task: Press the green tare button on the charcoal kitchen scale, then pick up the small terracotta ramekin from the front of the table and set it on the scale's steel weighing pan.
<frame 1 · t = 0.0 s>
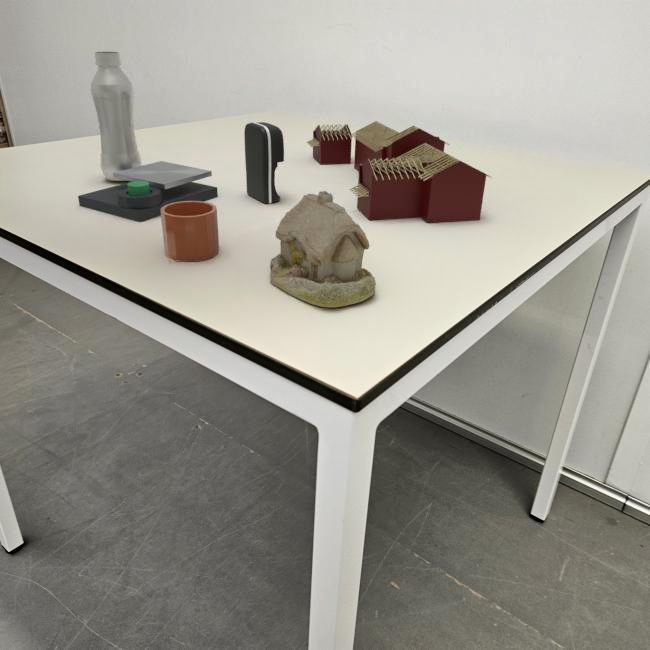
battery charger: (266, 199, 96), on the table
tare button: (139, 188, 85), point 4 cm above the table, slide at 0.1 cm
scale pan: (165, 197, 95), resting on scale
plastic bottle: (123, 181, 103), on the table
ceramic model: (324, 282, 67), on the table
scale: (150, 201, 92), on the table
ramekin: (192, 252, 74), on the table
toy houses: (380, 183, 106), on the table
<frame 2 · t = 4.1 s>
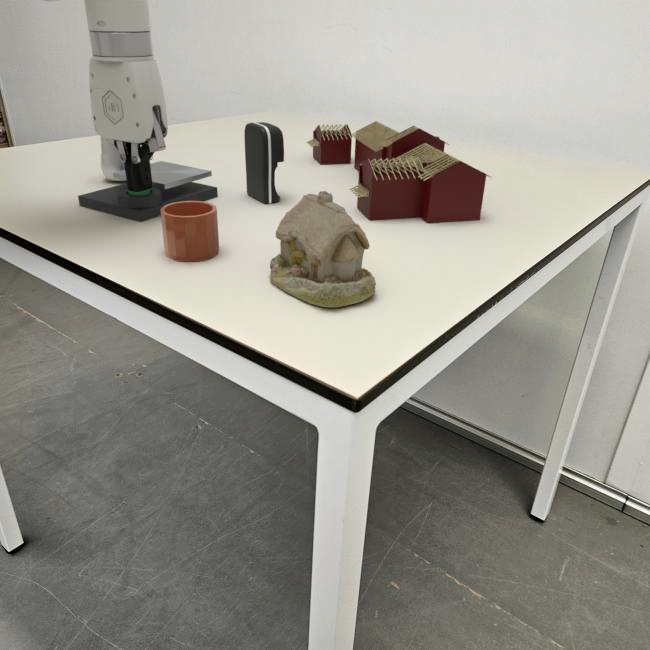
hand: (140, 188, 85), 4 cm above the table, tool pointing down, fingers closed
tare button: (139, 194, 86), point 3 cm above the table, slide at -0.7 cm, touching gripper
everything else where it was.
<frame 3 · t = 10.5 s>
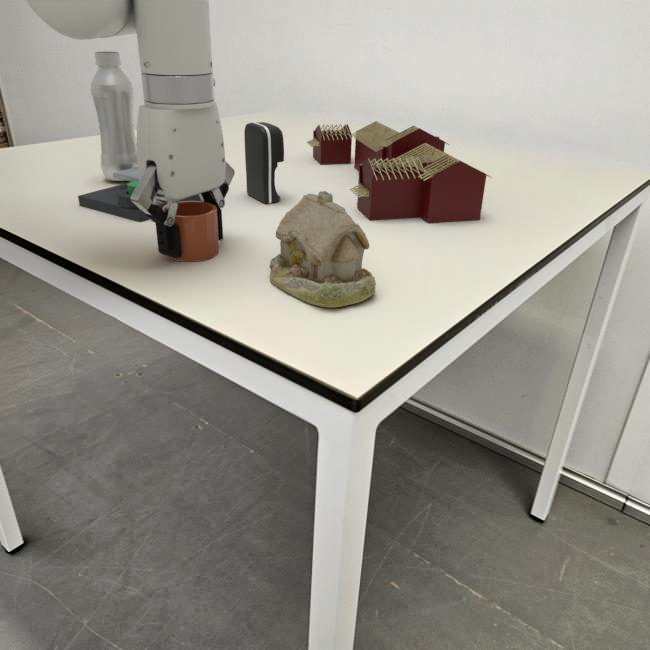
hand: (191, 245, 74), 1 cm above the table, tool pointing down, fingers closed on ramekin, 6 cm apart
tare button: (139, 189, 85), point 4 cm above the table, slide at 0.1 cm
ramekin: (192, 252, 74), on the table, touching gripper
everything else where it was.
when the fingers open (5 cm above the table, at t = 18.6 s): ramekin stays where it is, resting on scale pan.
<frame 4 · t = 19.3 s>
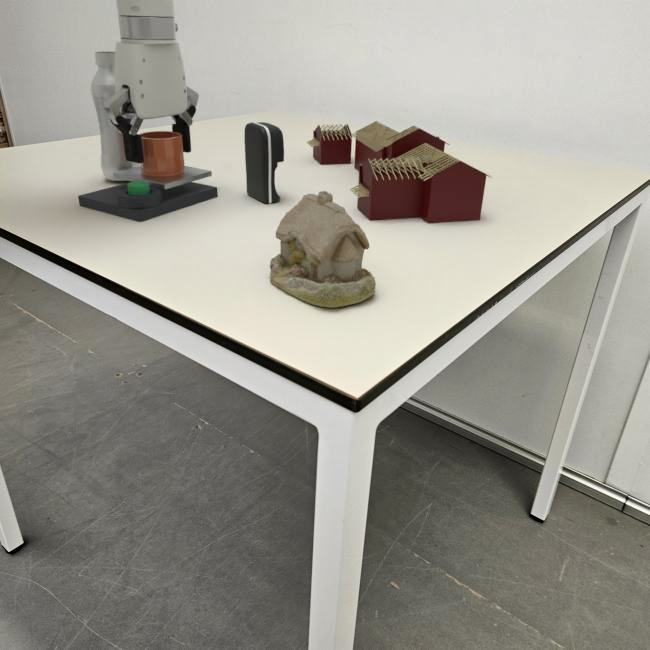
hand: (159, 156, 92), 6 cm above the table, tool pointing down, fingers open, 9 cm apart
ramekin: (163, 171, 93), point 4 cm above the table, touching scale pan
everything else where it was.
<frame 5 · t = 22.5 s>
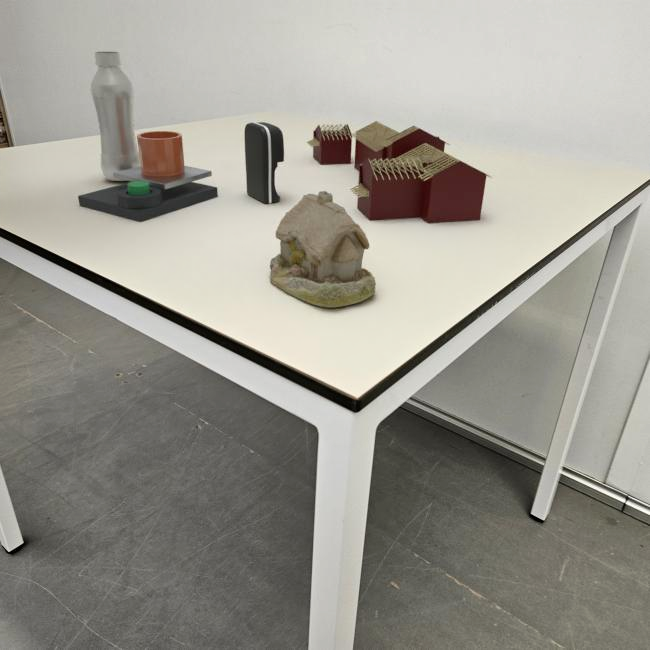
nothing on the table moved.
at the end: tare button pushed in 0.9 cm at the most during the clip, back to where it started at the end; tare button slide at 0.1 cm; ramekin inside the target area on the scale pan (0.1 cm from its centre), point 4.0 cm above the scale pan's base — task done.
